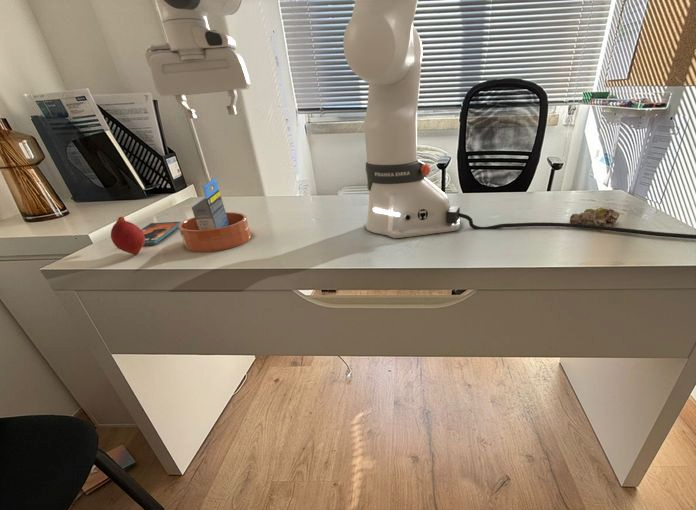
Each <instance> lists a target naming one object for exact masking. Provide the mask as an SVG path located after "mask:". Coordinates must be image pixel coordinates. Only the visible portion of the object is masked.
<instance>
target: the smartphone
mask: <svg viewBox="0 0 696 510" xmlns="http://www.w3.org/2000/svg"><path fill="white" fill-rule="evenodd" d="M182 222H183V221H166V222H163V221H162V222H151V223H148V224H147V225H146V226H144V227H142V228H141V231H142V232H143V234H144V237H145V244H144V245H143V246H155V245H158V244H159V243H160V242H161V241H162V240H164V239H165V238H167V236H169V235H170V234H172V233H173V232H175V231H176V230H177V229H179V228H178V227H179V224H180V223H182Z"/></svg>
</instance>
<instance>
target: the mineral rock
mask: <svg viewBox="0 0 696 510" xmlns="http://www.w3.org/2000/svg"><path fill="white" fill-rule="evenodd" d="M619 217H620V212H618V211H616V210H614V209H613V208H605V207H599V208H595V209H593V208H586V209H585V210H584V212H580V213H572V214H571V216H570V217H569V223H573V224H587V225H598V226H608V227H613V225H614V224H615V223H616V222H617V221H618V220H619Z"/></svg>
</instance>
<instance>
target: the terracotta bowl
mask: <svg viewBox="0 0 696 510" xmlns="http://www.w3.org/2000/svg"><path fill="white" fill-rule="evenodd" d="M225 212H226V215H227V218H228V221H229V225H230V226H226V227H221V228H216V229H209V230H199V228H198V225H197V222H196V219H195V216H193V217H191V218H188V219H186V220H183V221H181V222H182V223H180V224H179V227H178V228H177V229H178V230H179V233H180V236H181V238H182V241H183V244H184V246H185V248H186V249H187V250H189V251H192V252H200V253H203V252H204V253H205V252H206V253H209V252H217V251H223V250H228V249H232V248H236V247H238V246H241V245H243V244H246V243H247V242H249V241H250V240H251V239H252V233H251V230H250V226H249V222H248V217H247V215H246V214H244V213H241V212H237V211H236V212H235V211H233V212H232V211H225Z"/></svg>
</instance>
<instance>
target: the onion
mask: <svg viewBox="0 0 696 510" xmlns="http://www.w3.org/2000/svg"><path fill="white" fill-rule="evenodd" d="M141 229H142V228H141ZM141 229H140V227H138V226H137V225H136V224H135V223H133V222H130V221H129V220H128V221H127V220H125V217H124V216H123V215H121V216H118V217H117V219H116V222H115V223H113V225H112V228H111V231H110V239H111V242H112V243H113V245H114V246H115V247H116V248H117V249H119V250H120V251H122V252H125V253H128V254H130V255H134V256H135V255H138V254H139V253H140V252H141V250H142V248H143V247H144V246H145V245H144V244H145V237H144V234H143V232H142V231H141Z"/></svg>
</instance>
